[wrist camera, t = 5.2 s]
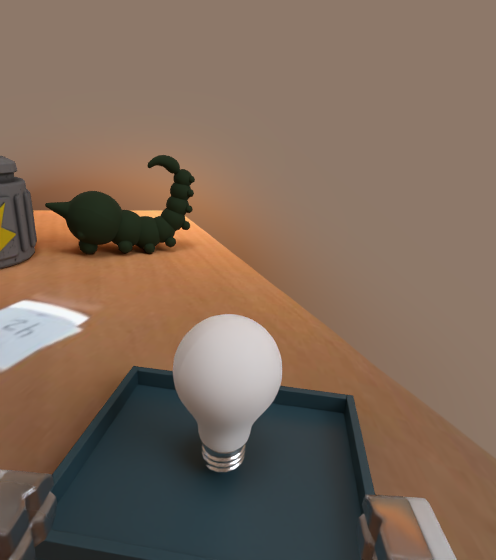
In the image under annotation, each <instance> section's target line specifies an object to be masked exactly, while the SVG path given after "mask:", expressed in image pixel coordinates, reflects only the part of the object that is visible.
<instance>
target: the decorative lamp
mask: <svg viewBox="0 0 496 560" xmlns="http://www.w3.org/2000/svg"><path fill="white" fill-rule="evenodd" d="M16 171H17V168H16V164H15V162H14V161H12V160H10V159H8V158H5V157H3V156H0V269H1V268H5V267H9V266H12V265H16V264H19V263H21V262H23V261H25V260H27V259H29V258H30V257H31V256H32V255H33V254H34V253H35V249H34V247H35V244H36V242H37V238H36V230H35V223H34V216H33V212H34V211H33V209H32V201H31V195H30V192H29V191H28V190H27V189H26V185H25V181H24V180H23V179H21V178H18V177H14V173H13V172H16Z"/></svg>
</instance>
